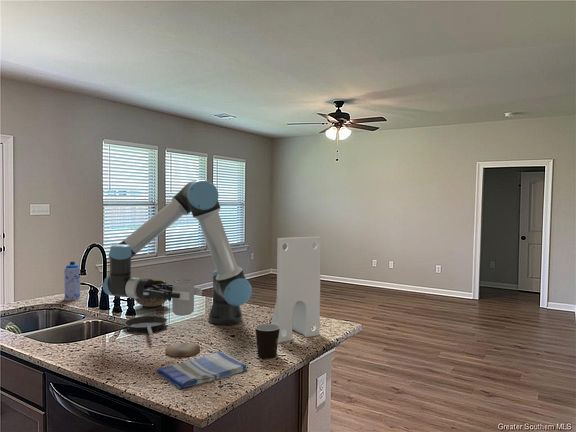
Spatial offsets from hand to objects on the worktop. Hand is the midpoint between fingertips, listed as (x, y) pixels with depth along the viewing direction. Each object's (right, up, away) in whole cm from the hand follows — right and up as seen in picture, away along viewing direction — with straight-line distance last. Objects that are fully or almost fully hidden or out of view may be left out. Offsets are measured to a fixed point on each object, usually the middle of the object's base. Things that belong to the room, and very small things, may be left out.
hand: (195, 293), depth 149 cm
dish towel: (+6, -22, -15) cm, 28 cm away
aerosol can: (-83, -17, +78) cm, 116 cm away
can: (-5, -7, +2) cm, 9 cm away
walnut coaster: (-5, -21, +2) cm, 22 cm away
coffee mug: (+26, -22, +1) cm, 34 cm away
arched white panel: (+33, -21, +24) cm, 46 cm away
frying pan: (-25, -20, +24) cm, 40 cm away
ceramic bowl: (-35, -19, +62) cm, 74 cm away
